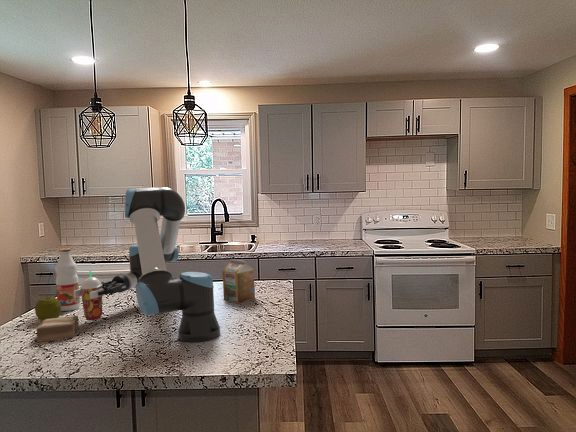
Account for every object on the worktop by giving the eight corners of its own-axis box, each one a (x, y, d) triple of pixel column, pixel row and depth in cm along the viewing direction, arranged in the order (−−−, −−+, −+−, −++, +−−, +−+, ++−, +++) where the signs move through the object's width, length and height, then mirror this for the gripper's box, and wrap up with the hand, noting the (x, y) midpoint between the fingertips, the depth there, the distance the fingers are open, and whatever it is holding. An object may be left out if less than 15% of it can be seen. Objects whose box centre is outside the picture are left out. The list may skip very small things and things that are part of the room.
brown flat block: (73, 337, 167) (72, 324, 166) (37, 342, 163) (36, 328, 163) (78, 327, 178) (77, 315, 178) (45, 331, 175) (44, 318, 174)
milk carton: (255, 298, 214) (253, 259, 212) (238, 303, 206) (236, 262, 205) (240, 295, 221) (239, 257, 219) (223, 299, 213) (222, 260, 212)
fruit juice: (84, 306, 209) (80, 247, 207) (66, 312, 201) (61, 250, 199) (71, 304, 214) (67, 246, 211) (53, 310, 205) (48, 249, 203)
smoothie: (87, 316, 188) (83, 269, 187) (107, 314, 189) (104, 268, 187) (79, 322, 180) (75, 273, 178) (100, 320, 180) (97, 272, 179)
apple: (43, 325, 183) (41, 299, 182) (30, 322, 188) (28, 296, 187) (66, 318, 191) (64, 293, 190) (54, 315, 196) (52, 291, 195)
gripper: (142, 292, 196) (102, 306, 175) (106, 289, 204) (64, 302, 184) (141, 275, 195) (101, 287, 175) (105, 273, 204) (63, 284, 183)
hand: (82, 295), depth 179 cm, fingers closed on smoothie, 8 cm apart
